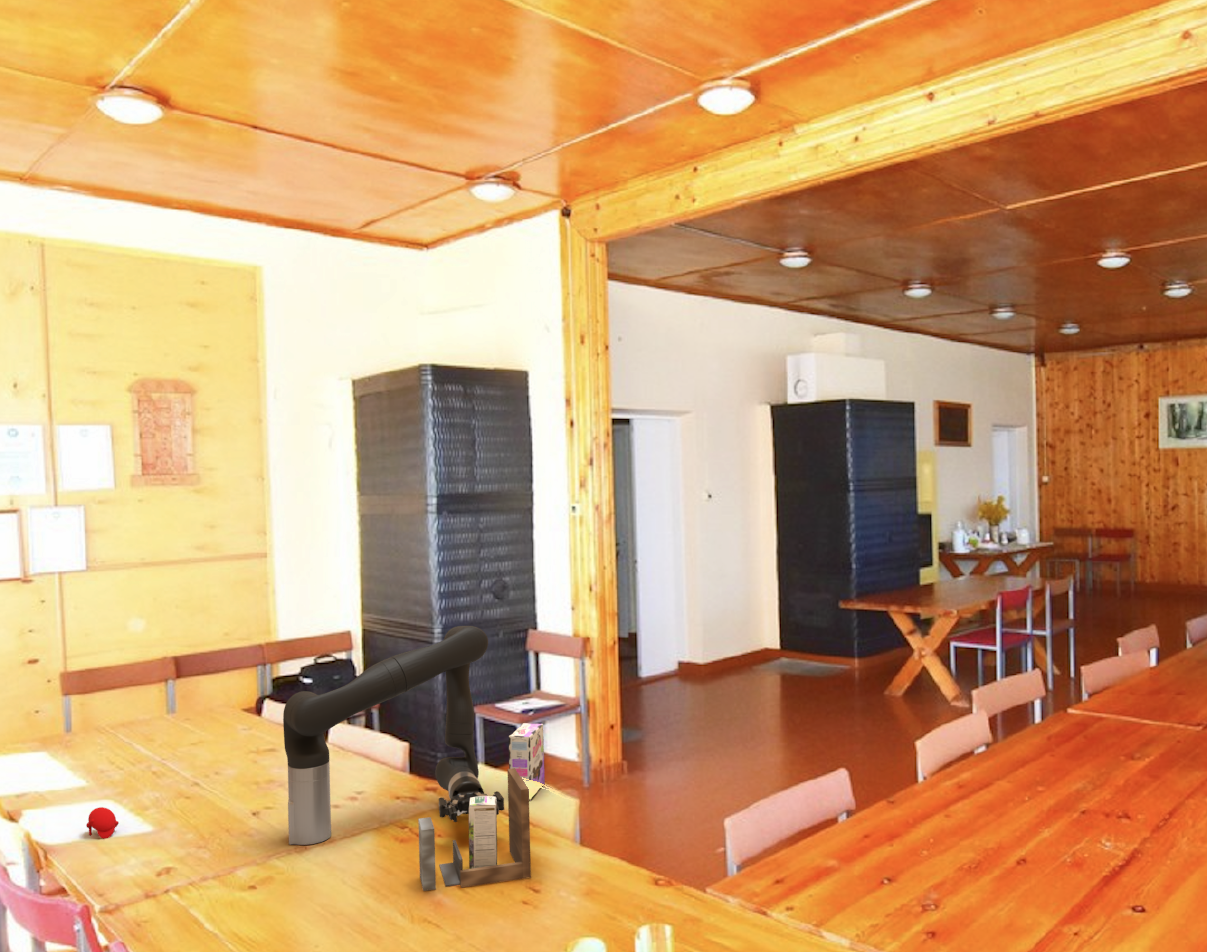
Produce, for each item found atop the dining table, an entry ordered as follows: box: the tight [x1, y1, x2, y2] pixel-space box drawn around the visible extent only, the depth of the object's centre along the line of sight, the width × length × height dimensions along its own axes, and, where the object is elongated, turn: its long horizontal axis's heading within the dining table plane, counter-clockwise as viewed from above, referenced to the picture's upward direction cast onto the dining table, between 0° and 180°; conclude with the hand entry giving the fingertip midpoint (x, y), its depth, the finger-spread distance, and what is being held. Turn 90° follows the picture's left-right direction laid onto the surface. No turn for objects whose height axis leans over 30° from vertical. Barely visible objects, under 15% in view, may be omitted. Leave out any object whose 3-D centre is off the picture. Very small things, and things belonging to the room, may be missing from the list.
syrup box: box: [468, 795, 498, 869], centre depth 196 cm, size 6×6×14 cm
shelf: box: [418, 768, 532, 892], centre depth 195 cm, size 22×15×18 cm
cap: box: [86, 806, 120, 840], centre depth 222 cm, size 8×6×6 cm
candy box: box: [508, 722, 546, 785], centre depth 245 cm, size 14×6×16 cm, turn 168°
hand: (475, 815), depth 203 cm, fingers open, 8 cm apart
